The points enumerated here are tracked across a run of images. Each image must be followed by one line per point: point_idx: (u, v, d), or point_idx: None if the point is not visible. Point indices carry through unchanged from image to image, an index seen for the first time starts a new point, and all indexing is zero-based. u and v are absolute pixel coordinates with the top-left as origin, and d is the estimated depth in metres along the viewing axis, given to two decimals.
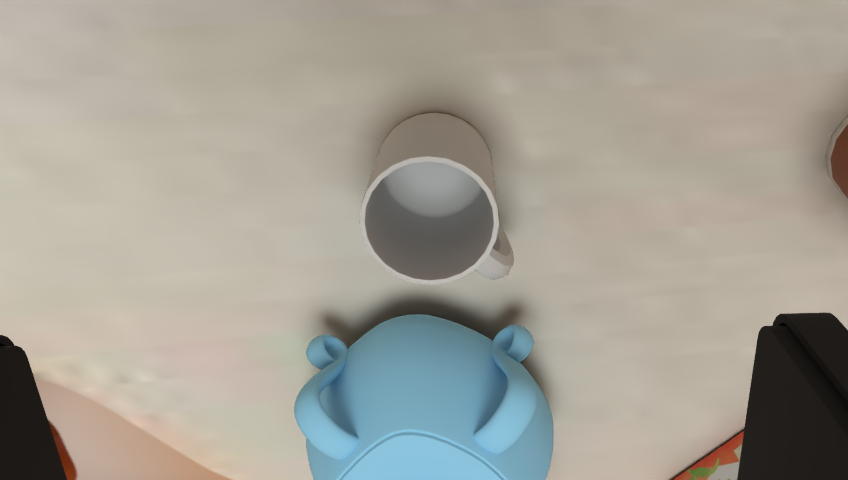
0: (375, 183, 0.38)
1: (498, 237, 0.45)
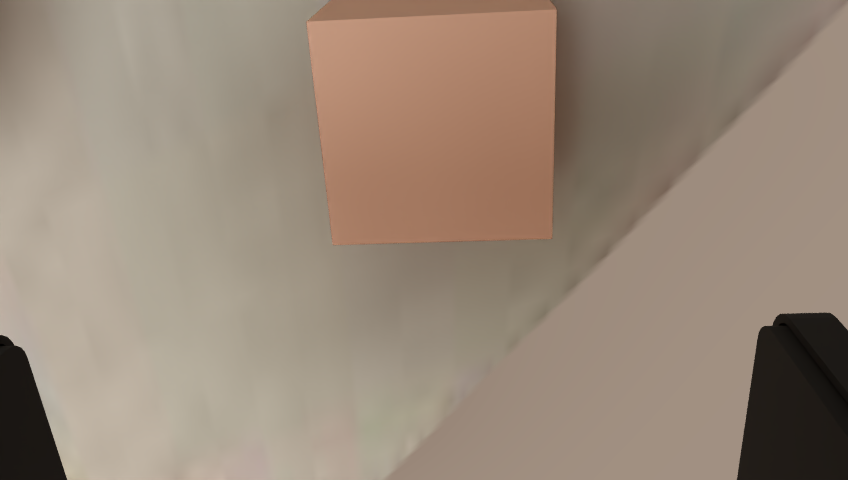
0: None
1: None
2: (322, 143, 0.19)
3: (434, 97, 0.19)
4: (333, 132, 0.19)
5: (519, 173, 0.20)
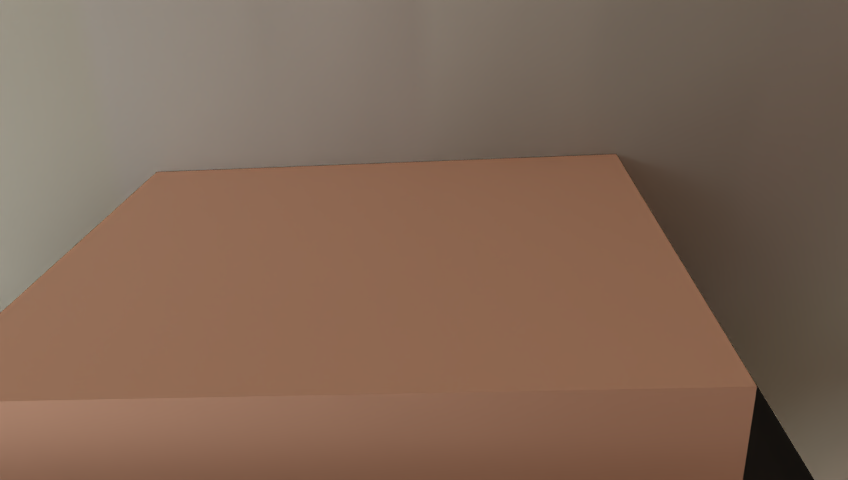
0: None
1: None
2: None
3: None
4: None
5: None
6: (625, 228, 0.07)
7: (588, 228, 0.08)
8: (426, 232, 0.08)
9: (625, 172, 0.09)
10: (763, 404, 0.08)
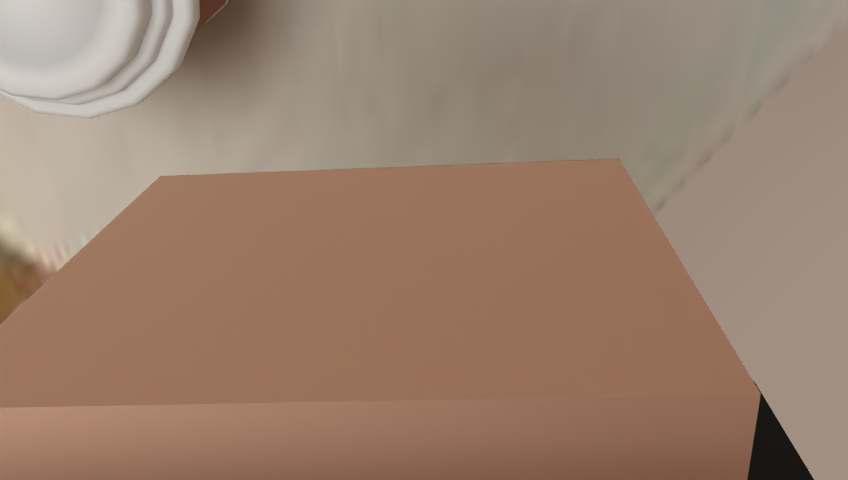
0: None
1: None
2: None
3: None
4: None
5: None
6: (628, 234, 0.07)
7: (592, 233, 0.08)
8: (430, 238, 0.08)
9: (628, 177, 0.09)
10: (763, 404, 0.08)
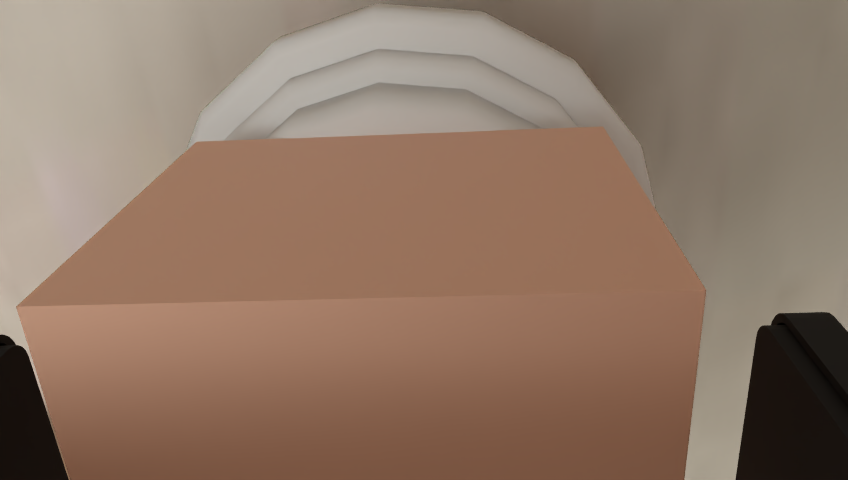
0: None
1: None
2: None
3: (370, 478, 0.07)
4: None
5: None
6: (608, 182, 0.09)
7: (576, 182, 0.09)
8: (438, 185, 0.09)
9: (610, 140, 0.10)
10: None
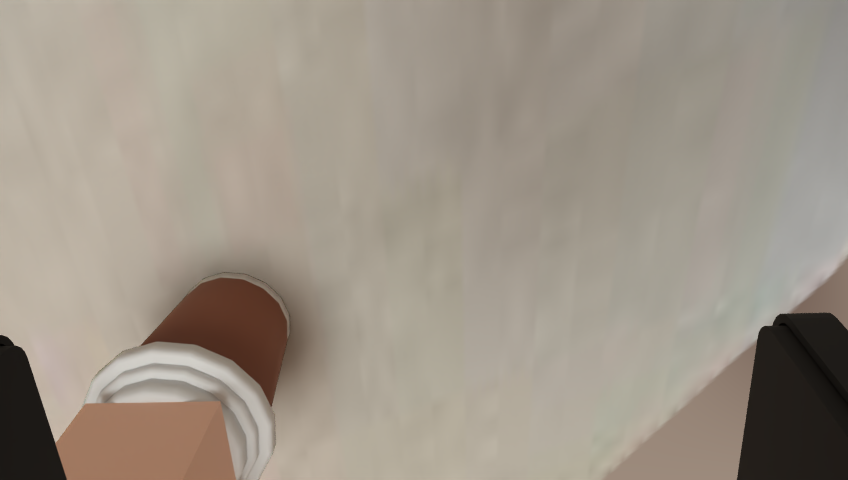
0: None
1: None
2: None
3: None
4: None
5: None
6: (195, 436, 0.30)
7: (186, 436, 0.30)
8: (147, 436, 0.30)
9: (214, 411, 0.32)
10: None
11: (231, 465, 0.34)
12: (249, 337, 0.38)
